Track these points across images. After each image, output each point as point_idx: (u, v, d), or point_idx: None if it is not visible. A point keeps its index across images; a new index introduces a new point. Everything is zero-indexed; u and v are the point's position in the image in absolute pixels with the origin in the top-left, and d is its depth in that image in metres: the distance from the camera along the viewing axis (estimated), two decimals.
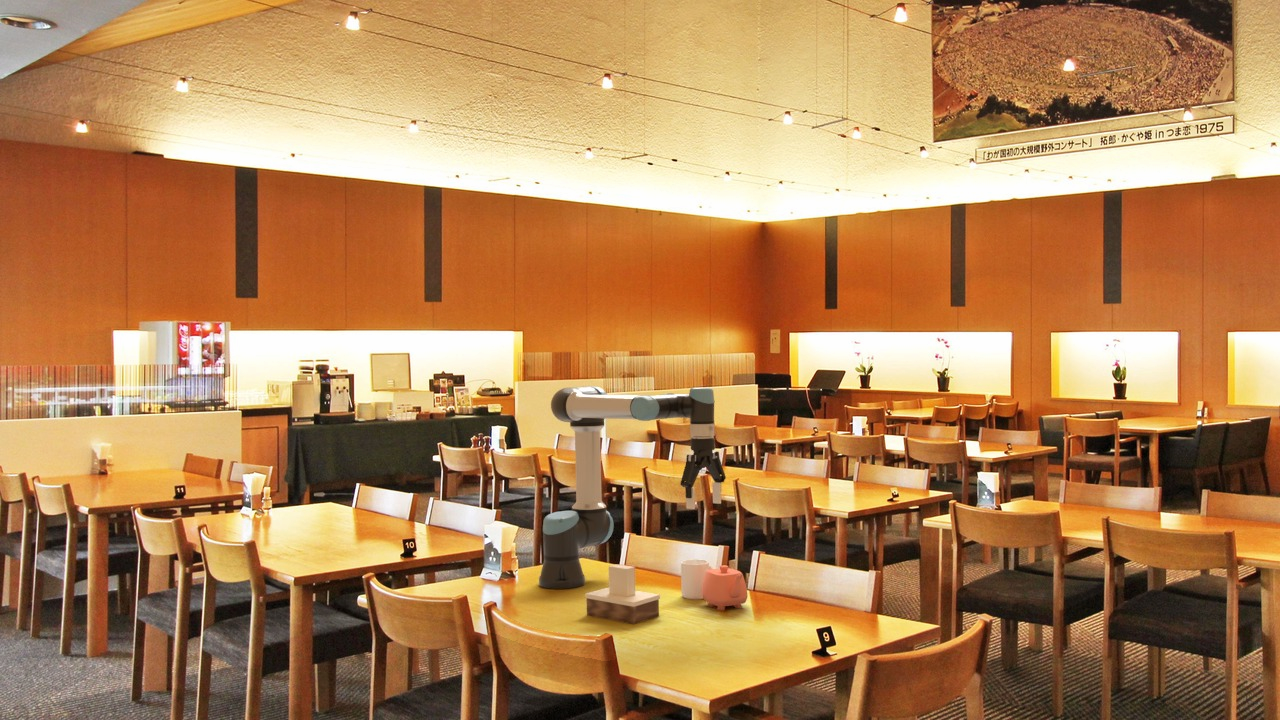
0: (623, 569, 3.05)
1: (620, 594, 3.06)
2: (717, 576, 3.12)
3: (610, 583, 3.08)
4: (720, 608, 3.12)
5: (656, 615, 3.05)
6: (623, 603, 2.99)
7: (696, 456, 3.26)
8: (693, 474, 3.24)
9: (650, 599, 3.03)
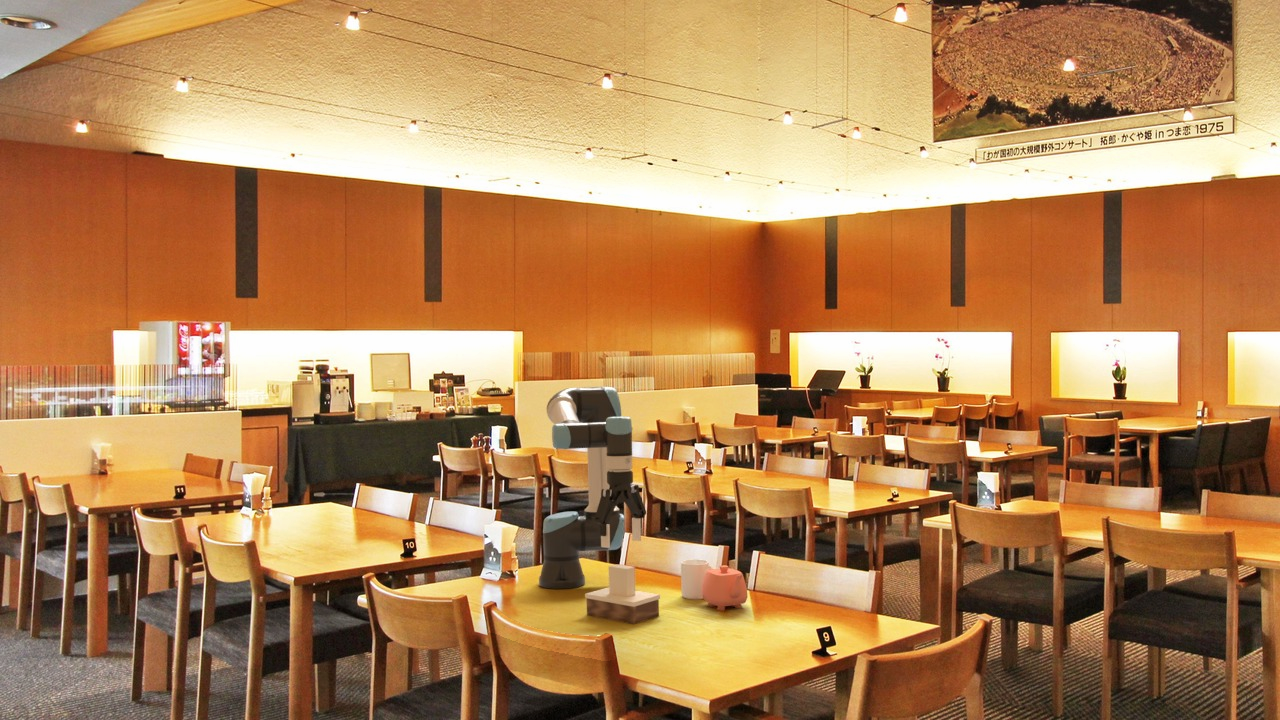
0: (623, 569, 3.05)
1: (620, 594, 3.06)
2: (717, 576, 3.12)
3: (610, 583, 3.08)
4: (720, 608, 3.12)
5: (656, 615, 3.05)
6: (623, 603, 2.99)
7: (612, 490, 3.03)
8: (608, 510, 3.02)
9: (650, 599, 3.03)
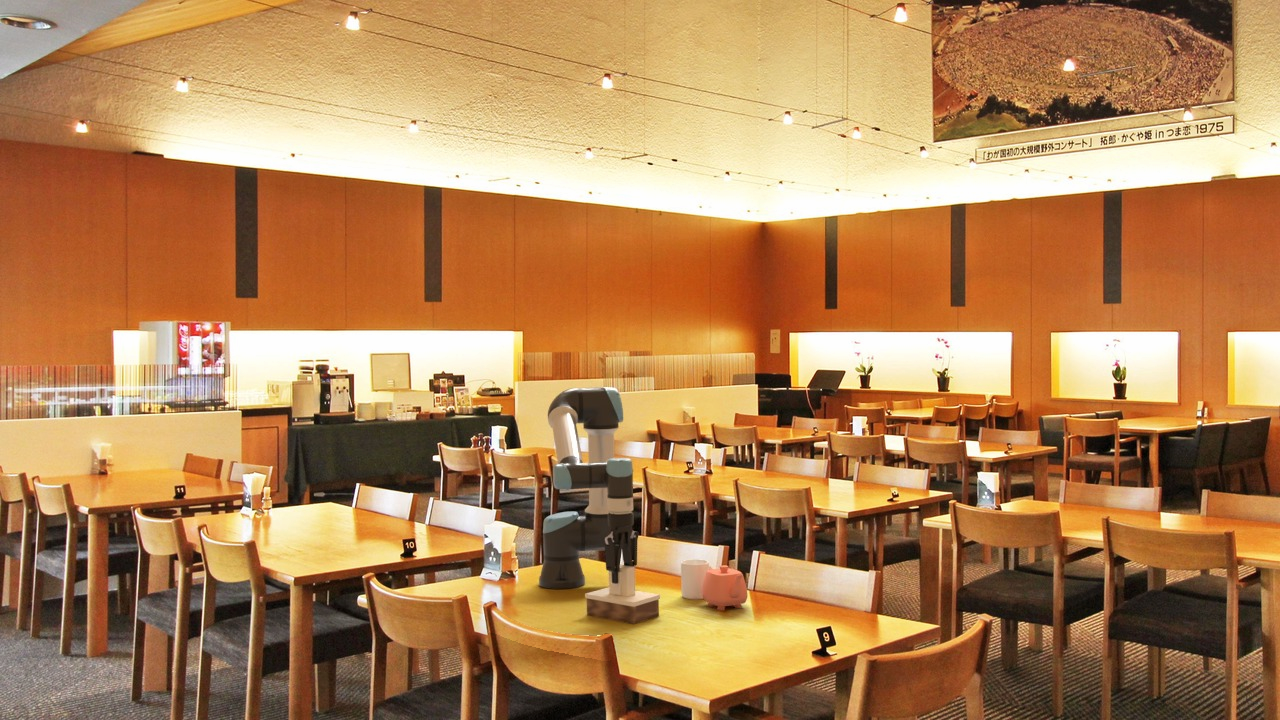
0: (623, 569, 3.05)
1: None
2: (717, 576, 3.12)
3: (610, 583, 3.08)
4: (720, 608, 3.12)
5: (656, 615, 3.05)
6: (623, 603, 2.99)
7: (613, 535, 3.04)
8: (616, 557, 3.05)
9: (650, 599, 3.03)
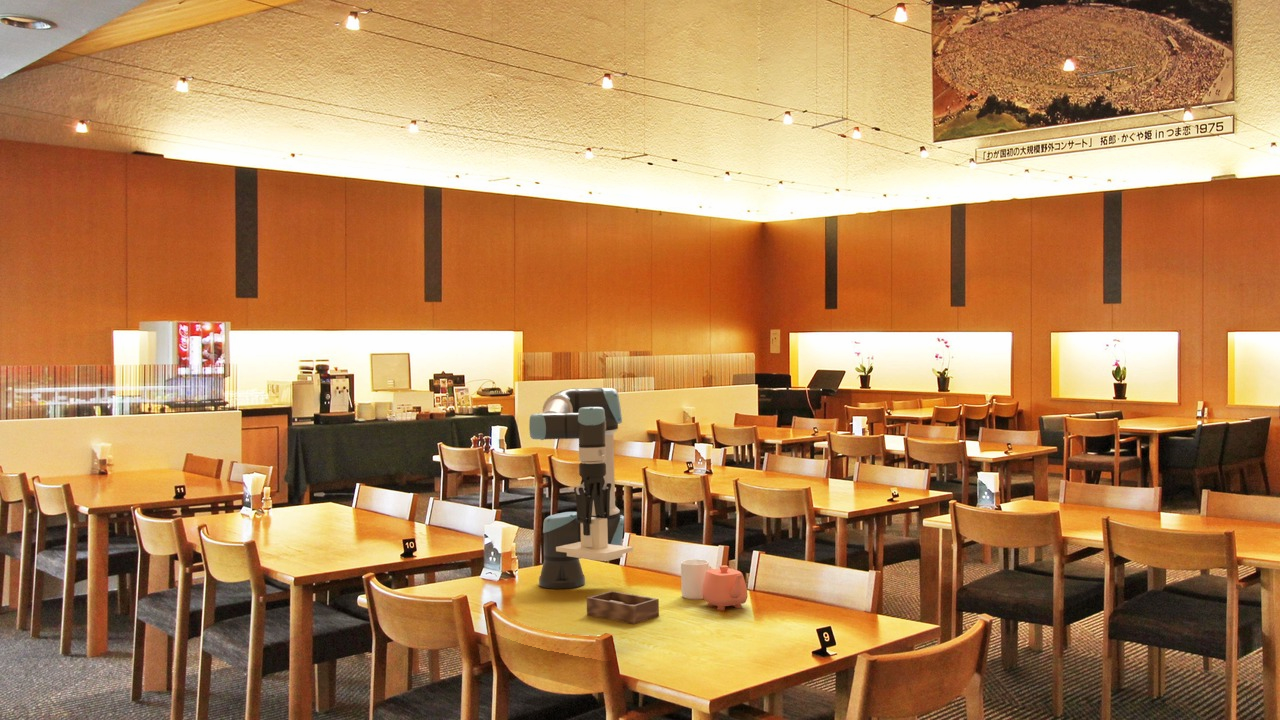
0: (595, 520, 2.95)
1: None
2: (717, 576, 3.12)
3: (582, 536, 2.99)
4: (720, 608, 3.12)
5: (656, 615, 3.05)
6: (595, 555, 2.90)
7: (584, 485, 2.94)
8: (587, 508, 2.95)
9: (623, 551, 2.93)
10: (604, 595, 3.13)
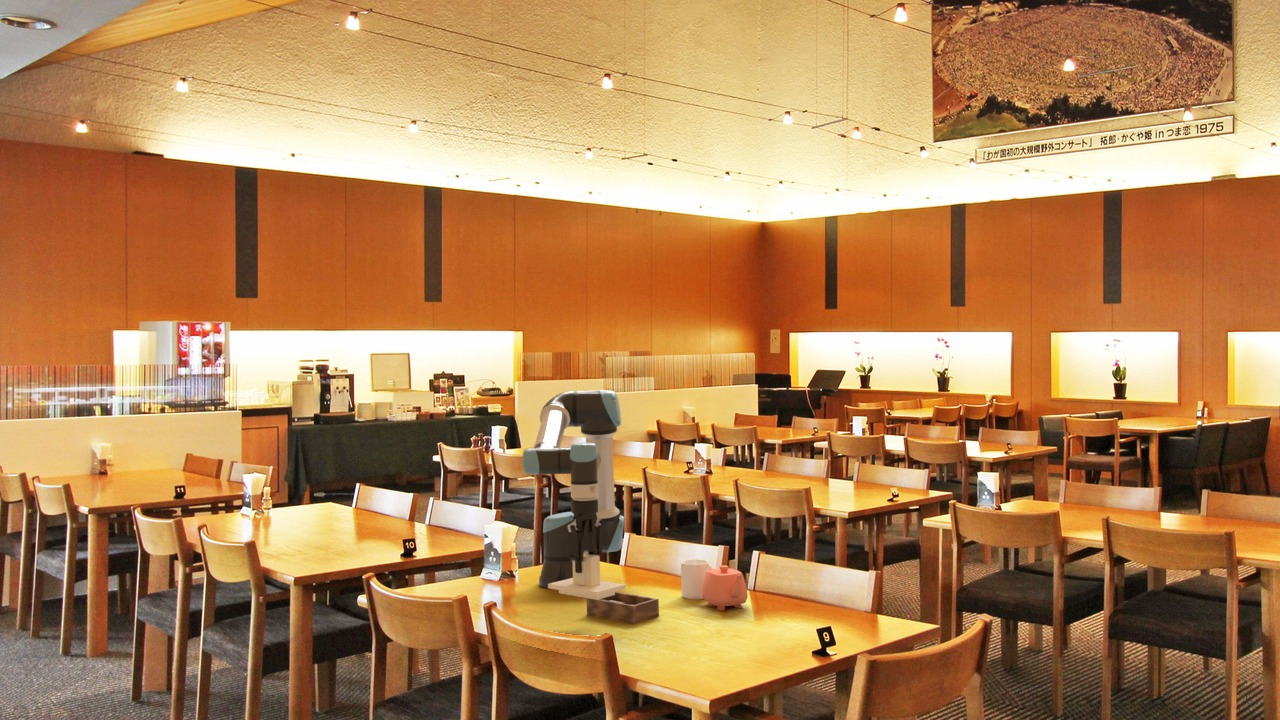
0: (587, 558, 2.93)
1: None
2: (717, 576, 3.12)
3: (574, 573, 2.96)
4: (720, 608, 3.12)
5: (656, 615, 3.05)
6: (586, 593, 2.88)
7: (576, 522, 2.92)
8: (579, 545, 2.93)
9: (615, 589, 2.91)
10: None
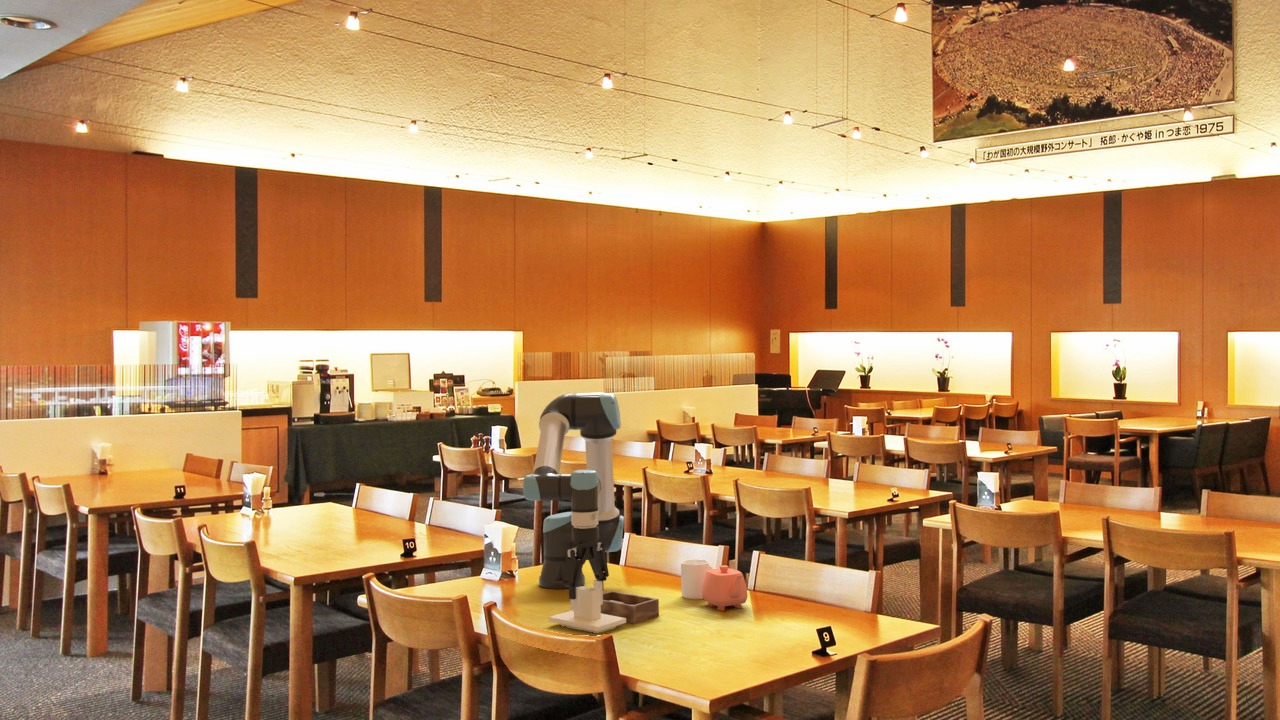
0: (588, 592, 2.93)
1: (585, 618, 2.94)
2: (717, 576, 3.12)
3: None
4: (720, 608, 3.12)
5: (656, 615, 3.05)
6: (587, 627, 2.88)
7: (576, 549, 2.92)
8: (576, 571, 2.92)
9: (615, 623, 2.91)
10: (604, 595, 3.13)
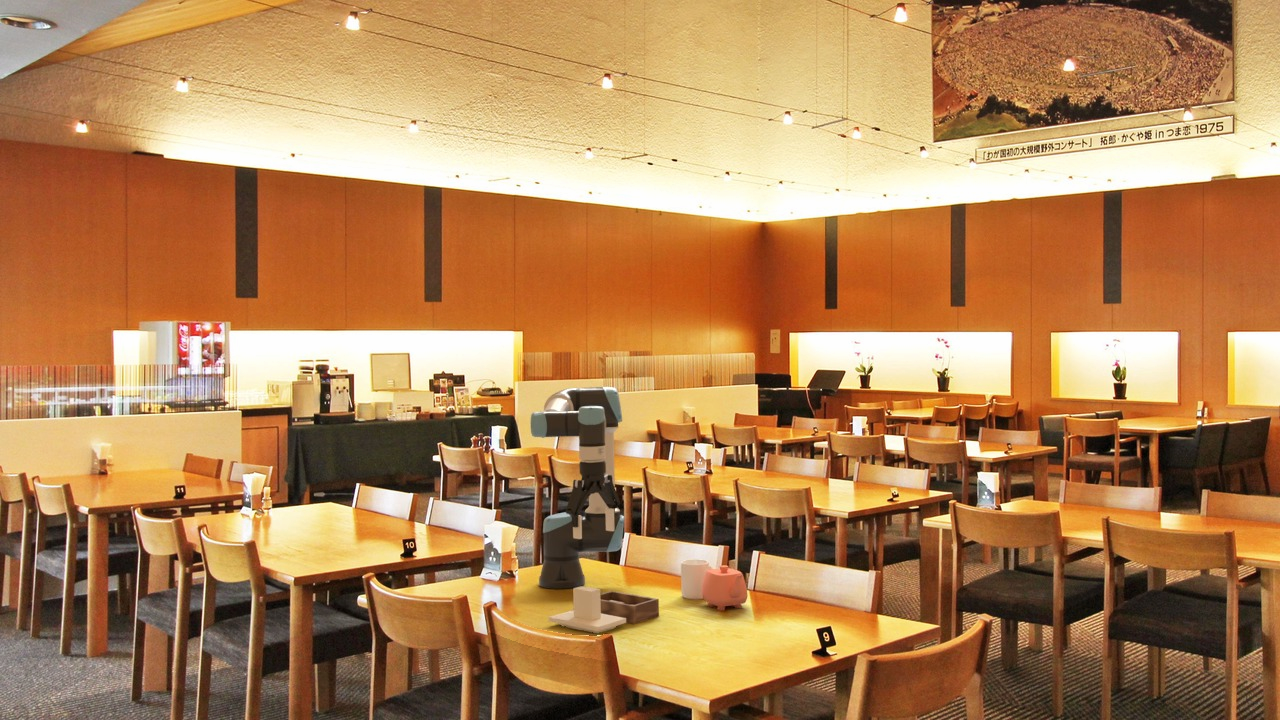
0: (588, 592, 2.93)
1: (585, 618, 2.94)
2: (717, 576, 3.12)
3: (575, 606, 2.97)
4: (720, 608, 3.12)
5: (656, 615, 3.05)
6: (587, 627, 2.88)
7: (584, 481, 3.00)
8: (580, 501, 2.99)
9: (615, 623, 2.91)
10: (604, 595, 3.13)
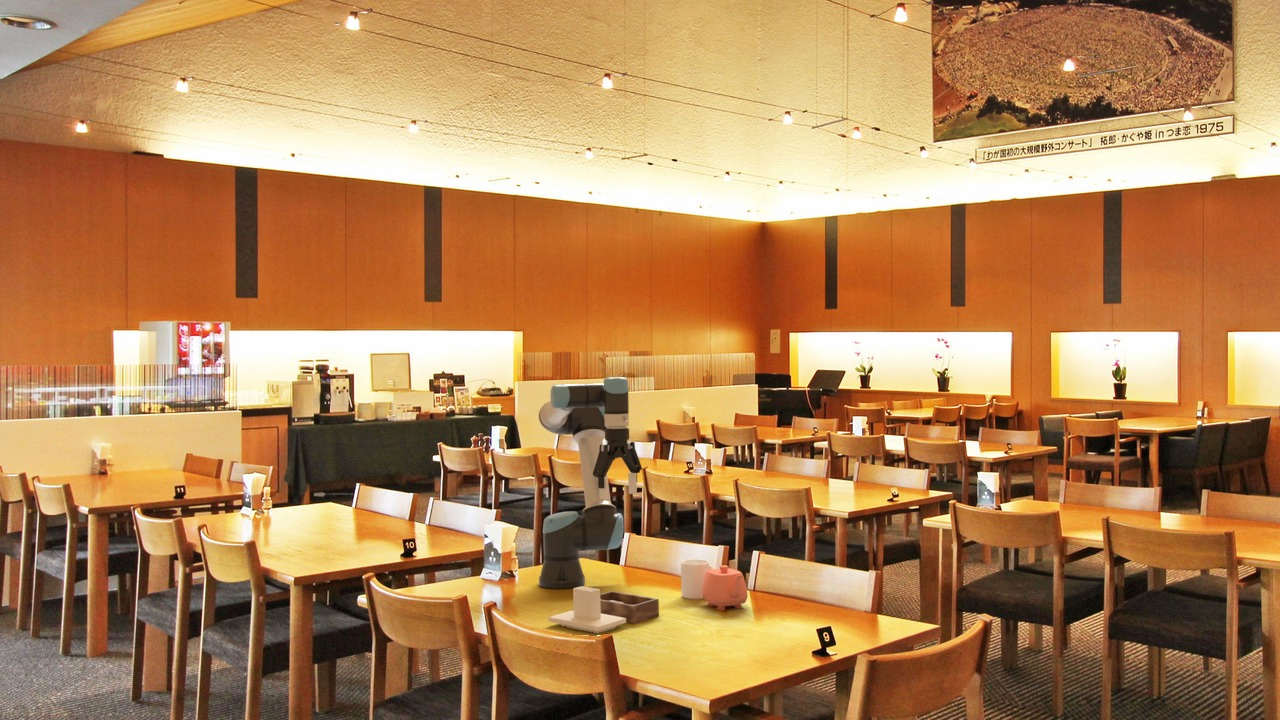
0: (588, 592, 2.93)
1: (585, 618, 2.94)
2: (717, 576, 3.12)
3: (575, 606, 2.97)
4: (720, 608, 3.12)
5: (656, 615, 3.05)
6: (587, 627, 2.88)
7: (609, 446, 3.24)
8: (606, 464, 3.23)
9: (615, 623, 2.91)
10: (604, 595, 3.13)
